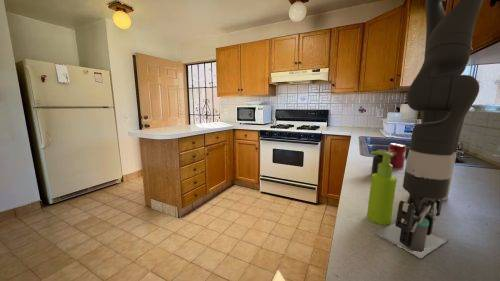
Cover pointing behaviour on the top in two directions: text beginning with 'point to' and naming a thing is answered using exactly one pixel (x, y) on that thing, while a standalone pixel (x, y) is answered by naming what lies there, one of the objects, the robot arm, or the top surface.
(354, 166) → the top surface
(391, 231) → the notepad
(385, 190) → the soap dispenser
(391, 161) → the soda can
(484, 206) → the top surface
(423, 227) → the marker
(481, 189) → the top surface
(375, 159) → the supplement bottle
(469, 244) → the top surface
